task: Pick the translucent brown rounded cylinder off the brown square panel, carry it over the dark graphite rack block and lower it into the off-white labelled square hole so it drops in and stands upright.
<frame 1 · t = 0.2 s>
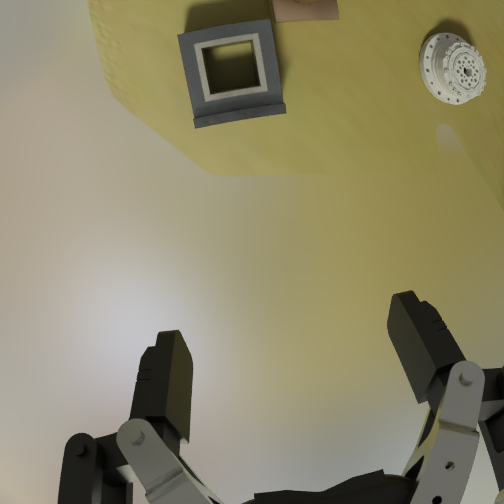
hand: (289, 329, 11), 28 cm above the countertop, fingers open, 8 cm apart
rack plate: (231, 66, 30), on the countertop
mechanical component: (446, 67, 30), on the countertop
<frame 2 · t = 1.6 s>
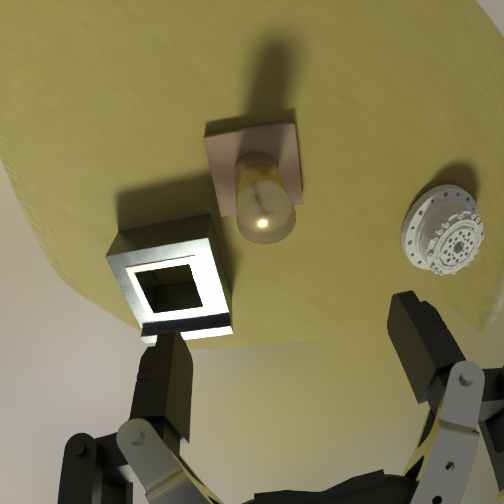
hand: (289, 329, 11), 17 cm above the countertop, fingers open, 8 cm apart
translucent brown rounded cylinder: (256, 171, 25), point 1 cm above the countertop, touching brown square panel
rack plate: (175, 262, 30), on the countertop
brown square panel: (255, 167, 26), on the countertop
mechanical component: (437, 223, 30), on the countertop
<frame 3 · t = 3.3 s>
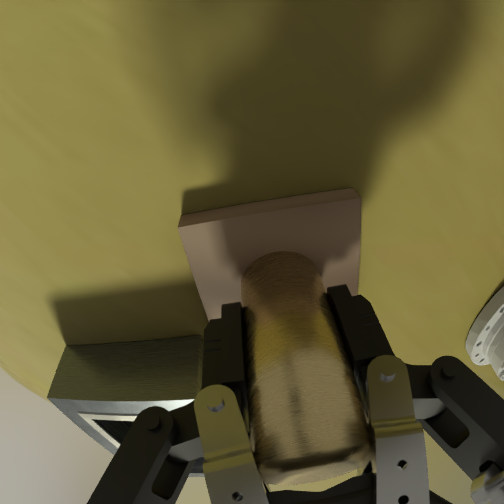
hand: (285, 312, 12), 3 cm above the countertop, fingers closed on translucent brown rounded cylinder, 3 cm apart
translucent brown rounded cylinder: (280, 284, 14), point 1 cm above the countertop, touching gripper, brown square panel
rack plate: (153, 385, 19), on the countertop
brown square panel: (277, 270, 14), on the countertop
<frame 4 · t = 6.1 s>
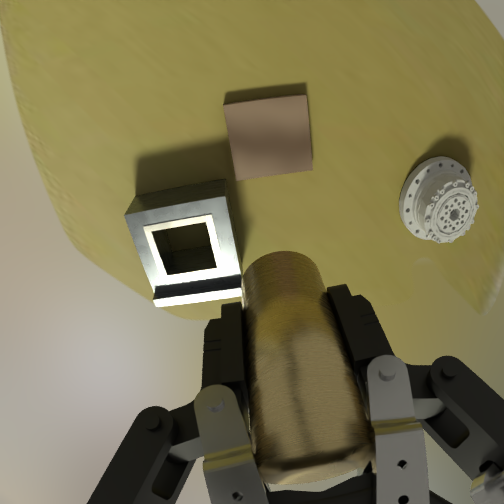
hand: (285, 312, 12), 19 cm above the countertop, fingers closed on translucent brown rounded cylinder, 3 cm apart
translucent brown rounded cylinder: (281, 284, 14), point 18 cm above the countertop, touching gripper
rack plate: (189, 227, 32), on the countertop
brown square panel: (269, 135, 27), on the countertop
mechanical component: (433, 195, 32), on the countertop
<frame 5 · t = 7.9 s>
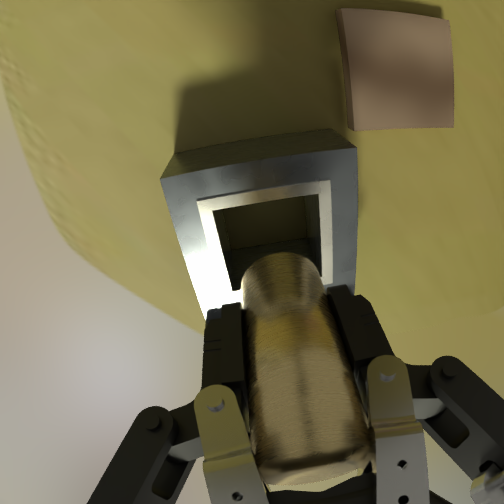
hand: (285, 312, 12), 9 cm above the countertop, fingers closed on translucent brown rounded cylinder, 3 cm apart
translucent brown rounded cylinder: (280, 285, 14), point 7 cm above the countertop, touching gripper
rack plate: (264, 209, 19), on the countertop
brown square panel: (398, 68, 15), on the countertop
when the fingers open (5 cm above the countertop, at t = 9.0 s): translucent brown rounded cylinder drops 3 cm, resting in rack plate.
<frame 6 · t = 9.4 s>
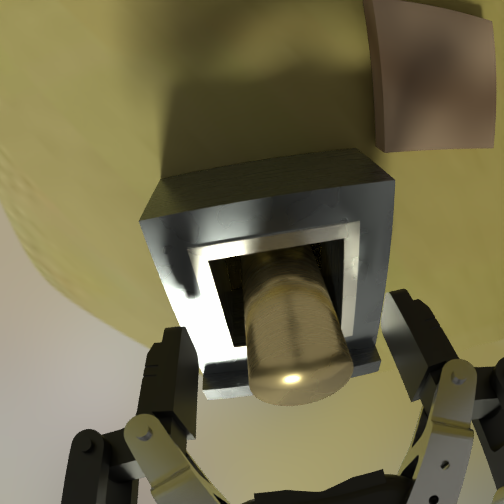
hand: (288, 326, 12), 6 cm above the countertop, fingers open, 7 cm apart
translucent brown rounded cylinder: (273, 245, 16), resting in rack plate
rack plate: (271, 245, 16), on the countertop
brown square panel: (435, 75, 11), on the countertop
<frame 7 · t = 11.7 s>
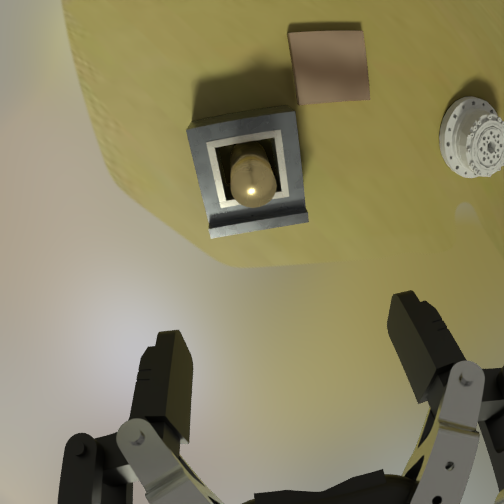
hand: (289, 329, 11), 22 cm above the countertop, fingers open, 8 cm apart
translucent brown rounded cylinder: (248, 156, 30), resting in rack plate
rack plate: (247, 156, 30), on the countertop
brown square panel: (328, 65, 25), on the countertop
mechanical component: (467, 135, 29), on the countertop
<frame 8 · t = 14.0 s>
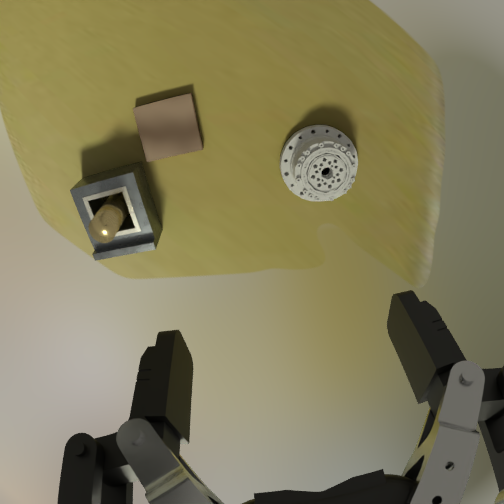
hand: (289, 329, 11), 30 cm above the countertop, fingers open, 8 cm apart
translucent brown rounded cylinder: (121, 200, 40), resting in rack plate
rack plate: (120, 200, 40), on the countertop
brown square panel: (168, 126, 35), on the countertop
mechanical component: (317, 161, 39), on the countertop
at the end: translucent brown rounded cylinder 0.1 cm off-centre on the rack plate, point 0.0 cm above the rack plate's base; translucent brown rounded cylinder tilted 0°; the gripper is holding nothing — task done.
